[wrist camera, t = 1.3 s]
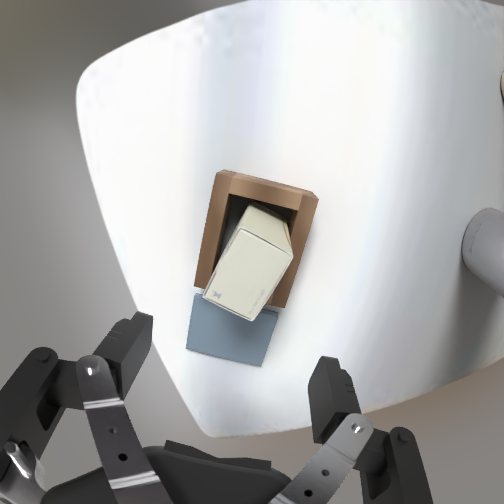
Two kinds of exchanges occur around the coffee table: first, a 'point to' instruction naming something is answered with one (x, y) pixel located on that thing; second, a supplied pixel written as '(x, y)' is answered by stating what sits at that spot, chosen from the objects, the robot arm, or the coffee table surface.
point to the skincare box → (251, 262)
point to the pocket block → (260, 190)
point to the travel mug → (502, 83)
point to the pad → (229, 332)
